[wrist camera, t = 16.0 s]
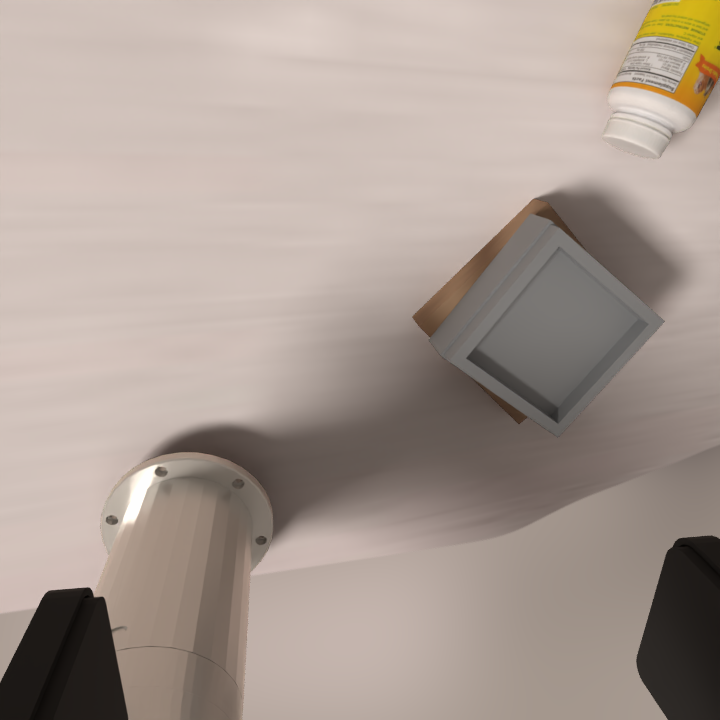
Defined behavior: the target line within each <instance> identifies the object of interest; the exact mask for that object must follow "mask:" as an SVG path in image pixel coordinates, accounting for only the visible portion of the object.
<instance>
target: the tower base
mask: <svg viewBox="0 0 720 720" xmlns="http://www.w3.org/2000/svg"><path fill="white" fill-rule="evenodd" d="M530 213H531V214H534V215H537V216H540V217H543V218H546V219H549V220H551V221H552V222H553V223H554V224H556V225H557V226H558V227H559V228H560V229H562V230H563V231H564V232H565V233H566V234H567V235H568V236H569V237H571V238H572V239H573V240H574V241H575V242H576V243H577V244H578V245H580V246H581V247H582V248H583V249H584V247H583V246H582V245H581V244H580V242H579V241H578V240H577V239H576V237H575V236H574V235H573V234H572V232H571V231H570V230H569V228H568V227H567V226H566V225H565V223H564V222H563V221H562V220H561V218H560V217H559V216H558V215H557V213H556V212H555V211H554V210H553V208H552V207H551V206H550V205H549V203H548V202H544V201H540V200H536V199H533V200H532V201H531V202H530V203H529V204H528V205H527V206H526V207H525V208H524V209H523V210H522V211H521V212H520V213H518V214H517V215H516V216H515V217H514V218H513V219H512V220H511V221H510V222H509V223H508V224H507V225H506V226H505V227H504V228H503V229H502V230H501V231H500V232H499V233H498V234H497V235H496V236H495V237H494V238H493V239H492V240H491V241H490V242H489V243H488V244H487V245H486V246H485V247H484V248H482V249H481V250H480V251H479V252H478V253H477V254H476V255H475V256H474V257H473V258H472V259H471V260H470V261H469V262H468V263H467V264H466V265H465V266H464V267H463V268H462V269H461V270H460V271H459V272H458V273H457V274H456V275H455V276H454V277H453V278H452V279H451V280H450V281H449V282H447V283H446V284H445V285H444V286H443V287H442V288H441V289H440V290H439V291H438V292H437V293H436V294H435V295H434V296H433V297H432V298H431V299H430V300H429V301H428V302H427V303H426V304H425V305H424V306H423V307H422V308H421V309H420V310H419V311H418V312H417V313H416V314H415V315H414V316H413V317H412V318H413V319H414V320H415V322H416V323H417V324H418V326H419V327H420V328H421V329H422V330H423V331H424V332H425V333H426V334H427V335H428V336H429V337H431V336H432V335H433V334H434V332H435V331H436V330H437V329H438V328H439V326H440V325H441V324H442V323H443V321H444V320H445V319H446V318H447V316H448V315H449V314H450V313H451V311H452V310H453V309H454V308H455V306H456V305H457V304H458V303H459V301H460V300H461V299H462V298H463V296H464V295H465V294H466V293H467V292H468V290H469V289H470V288H471V287H472V285H473V284H474V283H475V282H476V280H477V279H478V278H479V277H480V275H481V274H482V273H483V272H484V270H485V269H486V268H487V267H488V265H489V264H490V263H491V262H492V260H493V259H494V258H495V257H496V256H497V254H498V253H499V252H500V251H501V249H502V248H503V247H504V246H505V244H506V243H507V242H508V241H509V239H510V238H511V237H512V236H513V234H514V233H515V232H516V231H517V229H518V228H519V227H520V226H521V224H522V223H523V222H524V221H525V219H526V218H527V217H528V216H529V215H530ZM584 250H585V249H584ZM585 251H586V250H585ZM586 252H587V251H586ZM587 253H588V252H587ZM471 378H472V377H471ZM472 379H473V378H472ZM473 380H474V379H473ZM474 381H475V382H476V383H477V384H478V385H479V386H480V387H481V388H482V389H483V390H484V391H486V392H487V393H488V394H489V395H490V396H491V397H492V398H493V399H494V400H495V401H496V402H497V403H498V404H499V405H500V406H501V407H502V408H503V409H504V410H505V411H506V412H507V413H508V414H509V415H510V416H511V417H512V418H513V419H514V420H515V421H516V422H517V423H518V424H520V423H521V422H522V421H523V420H525V419H526V418H527V416H526V415H525V414H523V413H522V412H520V411H519V410H517V409H516V408H514V407H513V406H512V405H510V404H509V403H507V402H506V401H504V400H503V399H502V398H500V397H499V396H497V395H496V394H494V393H493V392H492V391H490V390H489V389H487V388H486V387H484V386H483V385H482V384H480V383H479V382H477V381H476V380H474Z"/></svg>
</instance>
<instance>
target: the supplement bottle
mask: <svg viewBox="0 0 720 720" xmlns="http://www.w3.org/2000/svg"><path fill="white" fill-rule="evenodd" d="M719 76H720V0H654V2H653V4H652V6H651V8H650V10H649V12H648V14H647V16H646V18H645V20H644V22H643V24H642V26H641V28H640V30H639V32H638V34H637V36H636V38H635V40H634V42H633V44H632V46H631V48H630V50H629V52H628V54H627V56H626V58H625V60H624V62H623V65H622V67H621V69H620V71H619V73H618V75H617V77H616V79H615V81H614V83H613V85H612V87H611V89H610V91H609V94H608V97H607V103H608V105H609V107H610V108H611V110H612V111H613V112H615V113H613V114H612V115H611V117H610V120H608V124H607V126H606V128H605V130H604V132H603V134H602V139H603V140H604V141H605V142H606V143H608V144H609V145H611V146H613V147H615V148H617V149H619V150H622V151H624V152H627V153H630V154H633V155H636V156H639V157H643V158H648V159H659V158H660V157H661V155H662V153H663V152H664V150H665V148H666V147H667V145H668V144H669V142H670V141H669V140H670V139H671V137H672V133H678V132H683V131H685V130H687V129H689V128H690V127H691V126H692V125H693V123H694V122H695V120H696V118H697V117H698V115H699V113H700V111H701V109H702V108H703V106H704V104H705V102H706V100H707V98H708V97H709V95H710V93H711V91H712V89H713V88H714V86H715V84H716V82H717V81H718V78H719Z"/></svg>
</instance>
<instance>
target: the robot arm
mask: <svg viewBox="0 0 720 720" xmlns="http://www.w3.org/2000/svg"><path fill="white" fill-rule="evenodd" d="M100 529H101V536H102V541H103V544H104V546H105V549H106V551H107V553H108V555H109V557H108V559H107V562H106V564H105V567H104V569H103V572H102V575H101V577H100V580H99V582H98V585H97V587H96V590H95V592H94V593H93V592H92V590H91V589H90V588H75V589H63V590H51V591H48V592H47V593H46V594H45V595H44V597H43V598H42V600H41V602H40V604H39V606H38V608H37V610H36V612H35V614H34V616H33V618H32V620H31V622H30V624H29V626H28V628H27V630H26V632H25V634H24V636H23V638H22V640H21V642H20V644H19V646H18V648H17V650H16V652H15V654H14V656H13V658H12V660H11V662H10V664H9V666H8V668H7V670H6V672H5V674H4V676H3V678H2V680H1V682H0V720H242V713H243V699H244V681H245V662H246V645H247V644H246V643H247V626H248V609H249V590H250V573H251V571H252V570H253V569H254V568H255V567H256V566H257V565H258V564H259V563H260V562H261V560H262V559H263V557H264V556H265V554H266V552H267V551H268V548H269V545H270V542H271V539H272V533H273V511H272V507H271V503H270V500H269V498H268V496H267V494H266V492H265V490H264V488H263V487H262V486H261V484H260V483H259V482H258V481H257V480H256V478H255V477H254V476H252V475H251V474H250V473H249V472H247V471H246V470H245V469H244V468H242V467H240V466H239V465H237V464H235V463H233V462H231V461H229V460H227V459H224V458H221V457H218V456H215V455H210V454H204V453H198V452H179V453H173V454H166V455H162V456H159V457H156V458H153V459H150V460H147V461H145V462H143V463H142V464H140V465H138V466H136V467H134V468H133V469H131V470H130V471H129V472H128V473H127V474H125V475H124V476H123V477H122V478H121V479H120V480H119V481H118V483H117V484H116V485H115V486H114V488H113V489H112V491H111V493H110V495H109V497H108V499H107V501H106V503H105V506H104V509H103V512H102V514H101V525H100ZM636 662H637V668H638V672H639V675H640V678H641V679H642V681H643V683H644V684H645V686H646V687H647V689H648V690H649V692H650V693H651V695H652V696H653V698H654V699H655V701H656V702H657V704H658V705H659V707H660V708H661V710H662V711H663V713H664V714H665V716H666V717H667V719H668V720H720V539H719V538H717V537H714V536H700V537H688V538H680V539H678V540H677V541H675V543H674V545H673V547H672V548H671V549H669V550H668V552H667V554H666V557H665V560H664V564H663V567H662V571H661V574H660V578H659V581H658V585H657V589H656V592H655V595H654V599H653V602H652V606H651V609H650V613H649V616H648V620H647V623H646V627H645V630H644V634H643V637H642V641H641V644H640V648H639V651H638V655H637V661H636Z"/></svg>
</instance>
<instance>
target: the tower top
mask: <svg viewBox="0 0 720 720" xmlns="http://www.w3.org/2000/svg"><path fill="white" fill-rule="evenodd" d="M664 322H665V321H664V320H663V319H662V318H661V317H659V316H658V315H657V314H656V313H655V312H654V311H653V310H652V309H650V308H649V307H648V306H647V305H646V304H645V303H644V302H643V301H641V300H640V299H639V298H638V297H637V296H636V295H635V294H634V293H632V292H631V291H630V290H629V289H628V288H627V287H626V286H625V285H623V284H622V283H621V282H620V281H619V280H618V279H617V278H616V277H614V276H613V275H612V274H611V273H610V272H609V271H608V270H607V269H605V268H604V267H603V266H602V265H601V264H600V263H599V262H598V261H596V260H595V259H594V258H593V257H592V256H591V255H590V254H589V253H587V252H586V251H585V250H584V249H583V248H582V247H581V246H580V245H578V244H577V243H576V242H575V241H574V240H573V239H572V238H571V237H569V236H568V235H567V234H566V233H565V232H564V231H563V230H562V229H560V228H559V227H558V226H557V225H556V224H554V223H553V222H552V221H551V220H549V219H546V218H543V217H540V216H537V215H534V214H531V213H530V215H529V216H528V217H527V218H526V219H525V221H524V222H523V223H522V224H521V226H520V227H519V228H518V229H517V231H516V232H515V233H514V234H513V236H512V237H511V238H510V239H509V241H508V242H507V243H506V244H505V246H504V247H503V248H502V249H501V251H500V252H499V253H498V254H497V256H496V257H495V258H494V259H493V260H492V262H491V263H490V264H489V265H488V267H487V268H486V269H485V270H484V272H483V273H482V274H481V275H480V277H479V278H478V279H477V280H476V282H475V283H474V284H473V285H472V287H471V288H470V289H469V290H468V292H467V293H466V294H465V295H464V296H463V298H462V299H461V300H460V301H459V303H458V304H457V305H456V306H455V308H454V309H453V310H452V311H451V313H450V314H449V315H448V316H447V318H446V319H445V320H444V321H443V323H442V324H441V325H440V326H439V328H438V329H437V330H436V331H435V332H434V334H433V335H432V336H431V337H430V339H429V341H430V343H431V344H432V345H433V347H434V348H435V349H436V351H437V352H438V353H439V355H440V356H442V357H443V358H444V359H446V360H447V361H449V362H450V363H452V364H453V365H454V366H456V367H457V368H459V369H460V370H462V371H463V372H464V373H466V374H467V375H469V376H470V377H472V378H473V379H474V380H476V381H477V382H479V383H480V384H482V385H483V386H484V387H486V388H487V389H489V390H490V391H492V392H493V393H494V394H496V395H497V396H499V397H500V398H502V399H503V400H504V401H506V402H507V403H509V404H510V405H512V406H513V407H514V408H516V409H517V410H519V411H520V412H522V413H523V414H525V415H526V416H527V417H529V418H530V419H532V420H533V421H535V422H536V423H537V424H539V425H540V426H542V427H543V428H545V429H546V430H547V431H549V432H550V433H552V434H554V435H555V436H556V437H559V436H560V435H561V434H562V433H563V432H564V431H565V430H566V428H567V427H568V426H569V425H570V424H571V423H572V422H573V421H574V420H575V419H576V418H577V416H578V415H579V414H580V413H581V412H582V411H583V410H584V409H585V408H586V407H587V406H588V404H589V403H590V402H591V401H592V400H593V399H594V398H595V397H596V396H597V395H598V394H599V393H600V391H601V390H602V389H603V388H604V387H605V386H606V385H607V384H608V383H609V382H610V381H611V379H612V378H613V377H614V376H615V375H616V374H617V373H618V372H619V371H620V370H621V369H622V368H623V366H624V365H625V364H626V363H627V362H628V361H629V360H630V359H631V358H632V357H633V356H634V354H635V353H636V352H637V351H638V350H639V349H640V348H641V347H642V346H643V345H644V344H645V342H646V341H647V340H648V339H649V338H650V337H651V336H652V335H653V334H654V333H655V332H656V331H657V329H658V328H659V327H660V326H661V325H662V324H663V323H664Z"/></svg>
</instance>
